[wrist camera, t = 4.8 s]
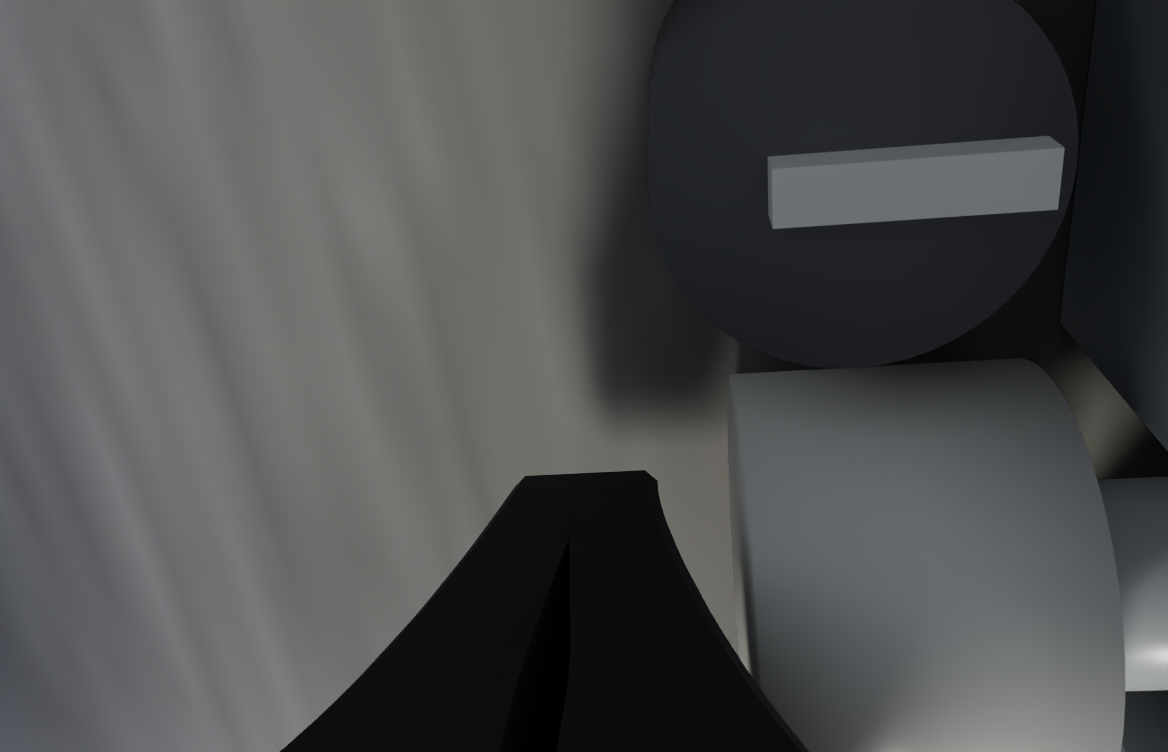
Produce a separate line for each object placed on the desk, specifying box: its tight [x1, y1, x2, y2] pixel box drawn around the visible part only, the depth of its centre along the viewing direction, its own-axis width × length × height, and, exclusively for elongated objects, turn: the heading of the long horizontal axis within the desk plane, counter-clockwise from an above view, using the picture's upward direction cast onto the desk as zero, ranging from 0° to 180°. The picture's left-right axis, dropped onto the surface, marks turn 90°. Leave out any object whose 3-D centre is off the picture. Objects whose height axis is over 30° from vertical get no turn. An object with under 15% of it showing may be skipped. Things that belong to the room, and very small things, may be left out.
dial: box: [648, 0, 1079, 368], centre depth 8 cm, size 3×3×3 cm
